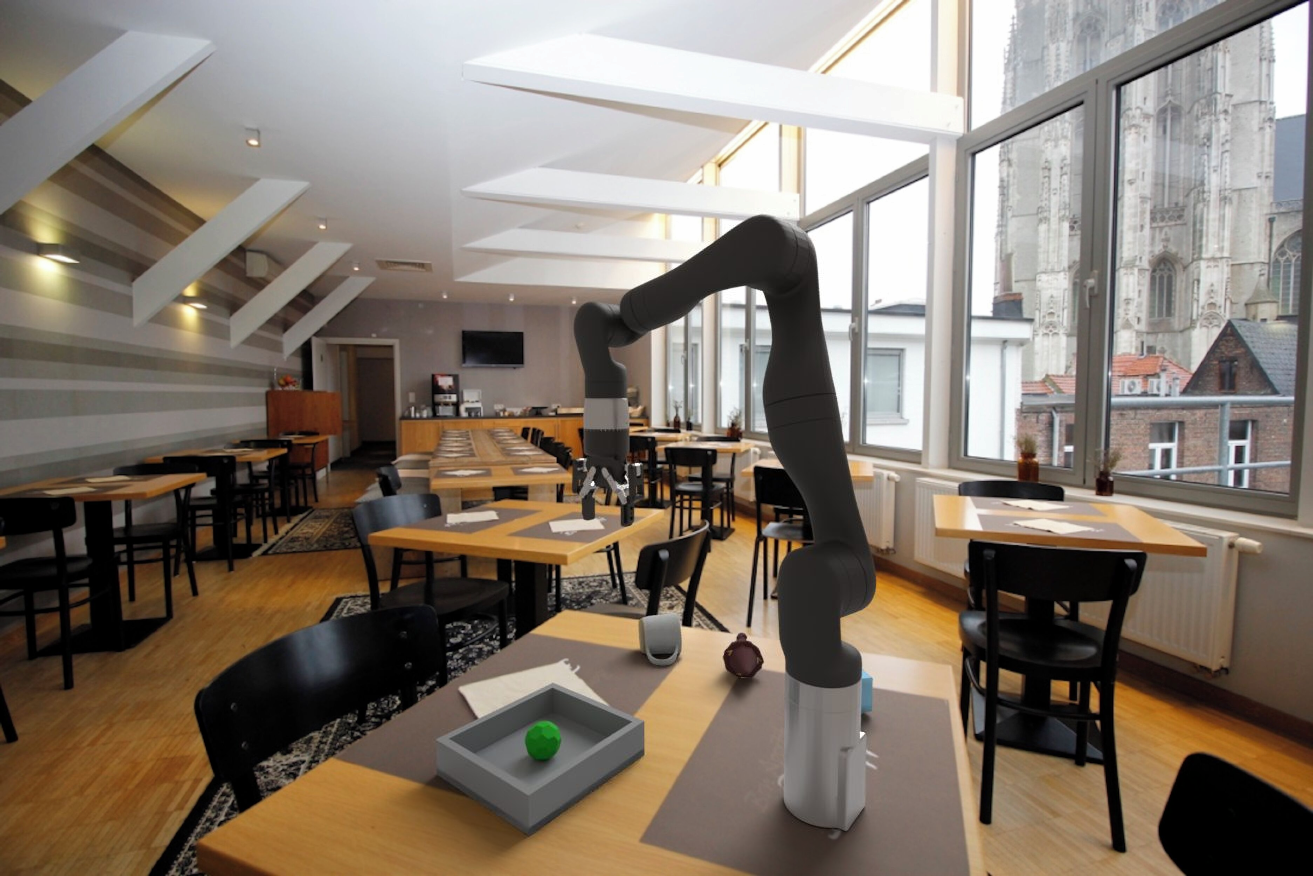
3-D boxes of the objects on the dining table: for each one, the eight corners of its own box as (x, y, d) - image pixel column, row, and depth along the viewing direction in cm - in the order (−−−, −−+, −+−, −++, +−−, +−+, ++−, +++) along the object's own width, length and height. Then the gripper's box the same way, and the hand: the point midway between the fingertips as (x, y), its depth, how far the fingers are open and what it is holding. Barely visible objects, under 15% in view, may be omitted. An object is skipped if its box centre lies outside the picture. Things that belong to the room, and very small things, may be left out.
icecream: (773, 659, 108) (762, 633, 123) (731, 647, 108) (725, 623, 123) (763, 699, 108) (753, 668, 123) (720, 687, 108) (716, 657, 123)
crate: (644, 754, 91) (644, 721, 90) (529, 836, 74) (528, 795, 74) (553, 712, 103) (553, 682, 102) (436, 774, 86) (435, 739, 86)
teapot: (808, 689, 110) (809, 648, 110) (840, 686, 111) (841, 645, 111) (841, 725, 98) (842, 678, 98) (876, 721, 100) (878, 675, 99)
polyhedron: (521, 751, 90) (521, 719, 89) (555, 743, 92) (555, 712, 91) (530, 771, 85) (529, 737, 85) (565, 762, 87) (565, 728, 87)
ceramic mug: (637, 645, 129) (637, 609, 129) (676, 643, 130) (676, 607, 130) (643, 669, 119) (642, 629, 118) (685, 666, 120) (686, 627, 119)
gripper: (654, 426, 103) (654, 524, 104) (591, 423, 111) (592, 514, 113) (623, 428, 97) (624, 532, 98) (559, 425, 106) (561, 521, 107)
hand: (607, 522), depth 105 cm, fingers open, 8 cm apart
